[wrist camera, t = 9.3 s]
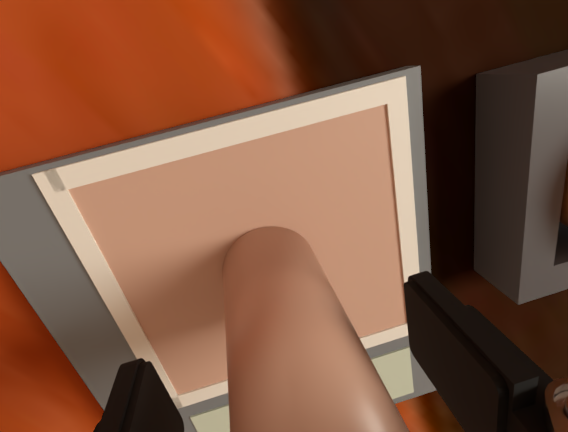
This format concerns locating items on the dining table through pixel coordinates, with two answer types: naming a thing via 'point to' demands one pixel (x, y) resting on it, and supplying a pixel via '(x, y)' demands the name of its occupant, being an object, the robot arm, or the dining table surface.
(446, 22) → the dining table surface
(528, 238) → the button housing
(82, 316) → the picture board
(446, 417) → the dining table surface
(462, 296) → the dining table surface
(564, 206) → the button
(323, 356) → the marker
